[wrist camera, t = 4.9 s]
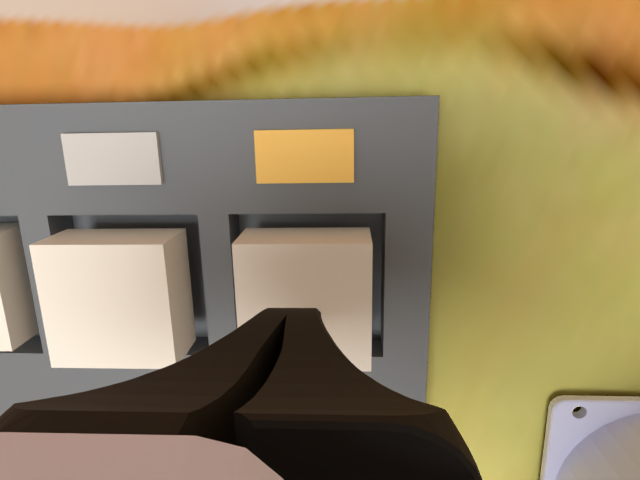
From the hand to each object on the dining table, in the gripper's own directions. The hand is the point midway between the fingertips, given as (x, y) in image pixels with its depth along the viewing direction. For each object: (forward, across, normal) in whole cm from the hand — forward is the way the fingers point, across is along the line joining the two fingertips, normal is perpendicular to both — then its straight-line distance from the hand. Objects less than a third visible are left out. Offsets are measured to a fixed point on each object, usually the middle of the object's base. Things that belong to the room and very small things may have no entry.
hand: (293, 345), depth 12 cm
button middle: (+4, +6, 0) cm, 7 cm away
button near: (+4, 0, 0) cm, 4 cm away
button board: (+6, +6, 0) cm, 8 cm away
